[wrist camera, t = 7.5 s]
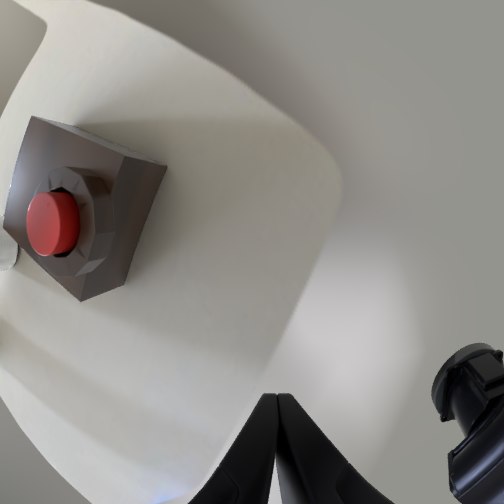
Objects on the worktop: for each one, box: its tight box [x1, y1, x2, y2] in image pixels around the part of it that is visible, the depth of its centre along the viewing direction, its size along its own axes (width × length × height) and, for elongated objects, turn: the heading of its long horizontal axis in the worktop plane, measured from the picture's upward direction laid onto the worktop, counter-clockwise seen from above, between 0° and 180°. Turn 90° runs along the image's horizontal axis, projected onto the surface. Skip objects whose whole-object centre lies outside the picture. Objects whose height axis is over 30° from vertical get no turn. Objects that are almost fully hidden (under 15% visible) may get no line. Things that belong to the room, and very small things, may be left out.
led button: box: [27, 192, 81, 256], centre depth 14 cm, size 4×4×2 cm
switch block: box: [3, 116, 167, 302], centre depth 18 cm, size 13×10×7 cm
